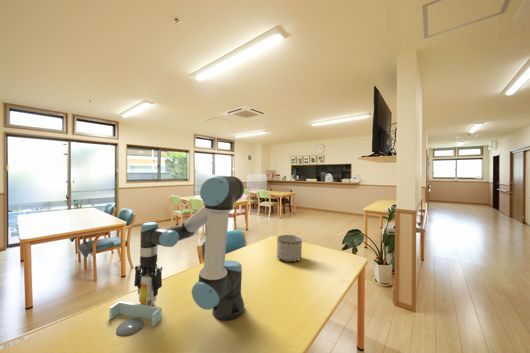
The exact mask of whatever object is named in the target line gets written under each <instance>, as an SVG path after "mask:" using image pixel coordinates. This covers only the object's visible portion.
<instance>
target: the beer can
mask: <svg viewBox="0 0 530 353" xmlns="http://www.w3.org/2000/svg"><path fill="white" fill-rule="evenodd" d="M151 290H153V287H152V279H151V277H149V274H146V275H144V276H142V277H141V302H139V303H140V304H141V305H148V306H153V305H154V304H155V302H154V303H153V304H151Z"/></svg>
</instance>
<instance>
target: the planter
mask: <svg viewBox="0 0 530 353" xmlns="http://www.w3.org/2000/svg"><path fill="white" fill-rule="evenodd" d="M276 239H277V240H276V257H277V259H278V260H280V259H281V260H280V261H283V260H285V261H284V262H289V261H294V262H296V261H295V260H298V259H300V258H301V259H302V248H303V247H302V245H303V244H302V241H303V238H302V237H300V236H298V235H293V234H282V235H278V236H277V238H276ZM301 259H300V260H301ZM298 261H299V260H298Z"/></svg>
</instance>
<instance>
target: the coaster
mask: <svg viewBox="0 0 530 353" xmlns="http://www.w3.org/2000/svg"><path fill="white" fill-rule="evenodd" d="M144 325H145V320H144V319H143V318H142V317H134V318H130V319H127V320H124V321H122V322H120V324H118V325H117V327H116V330H115V332H116V334H117V335H118V336H120V337H122V336H123V337H127V336H132V335H134V334H136V333H138V332H139V331H141V330H142V329H143V328H144Z"/></svg>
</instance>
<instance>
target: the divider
mask: <svg viewBox="0 0 530 353" xmlns="http://www.w3.org/2000/svg"><path fill="white" fill-rule="evenodd" d="M162 308H163V307H162V306H153V305H152V306H148V305H141V304H139V303H133V302H126V301H121V300H119V301H118V302H116V303H114V304H113V305H111V306H110V307H109V315H108V316H109V317H108V318H109V320H112V319H114V318H115V317H116V316H118V315H119V314H120V315H125V316H131V317H136V318H142V319H143V318H144V319H151V326H152V327H154V326H156V325H157V324H158V323H159V322H160V321H161V320H162Z"/></svg>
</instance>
